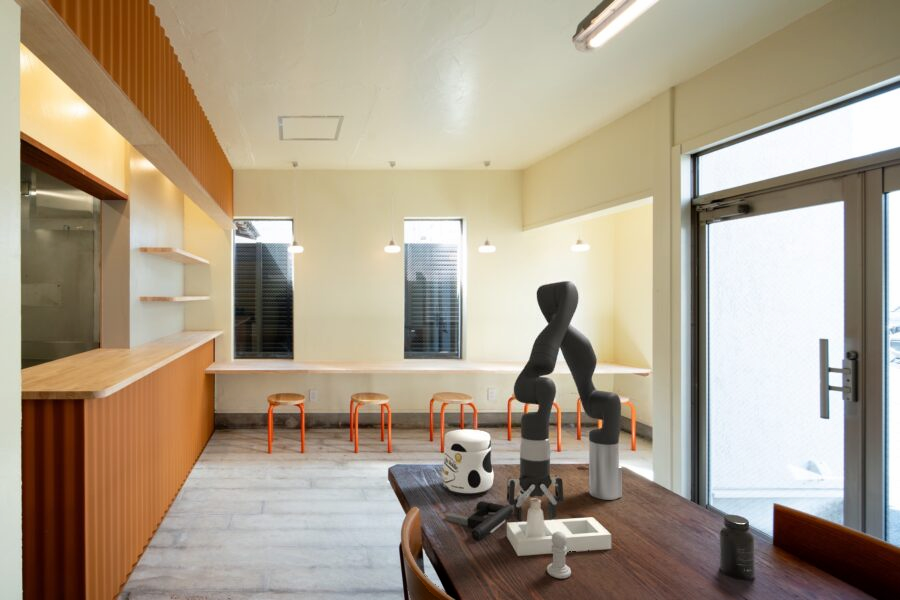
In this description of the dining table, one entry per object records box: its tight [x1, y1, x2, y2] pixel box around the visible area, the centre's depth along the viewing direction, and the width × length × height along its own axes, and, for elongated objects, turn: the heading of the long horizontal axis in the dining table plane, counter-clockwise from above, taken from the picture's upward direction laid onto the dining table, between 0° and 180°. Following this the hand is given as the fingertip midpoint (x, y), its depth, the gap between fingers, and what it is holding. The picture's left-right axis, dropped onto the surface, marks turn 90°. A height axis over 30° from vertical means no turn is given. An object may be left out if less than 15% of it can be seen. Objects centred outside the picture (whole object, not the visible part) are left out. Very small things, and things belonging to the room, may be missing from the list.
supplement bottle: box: [718, 514, 756, 581], centre depth 105 cm, size 7×7×12 cm
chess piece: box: [546, 532, 572, 580], centre depth 104 cm, size 5×5×9 cm
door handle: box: [444, 501, 514, 541], centre depth 130 cm, size 3×20×16 cm
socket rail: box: [506, 516, 612, 557], centre depth 118 cm, size 24×10×4 cm, turn 99°
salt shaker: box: [525, 497, 545, 537], centre depth 117 cm, size 5×5×11 cm
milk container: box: [441, 428, 495, 496], centre depth 154 cm, size 17×17×18 cm
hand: (535, 519), depth 117 cm, fingers open, 8 cm apart
